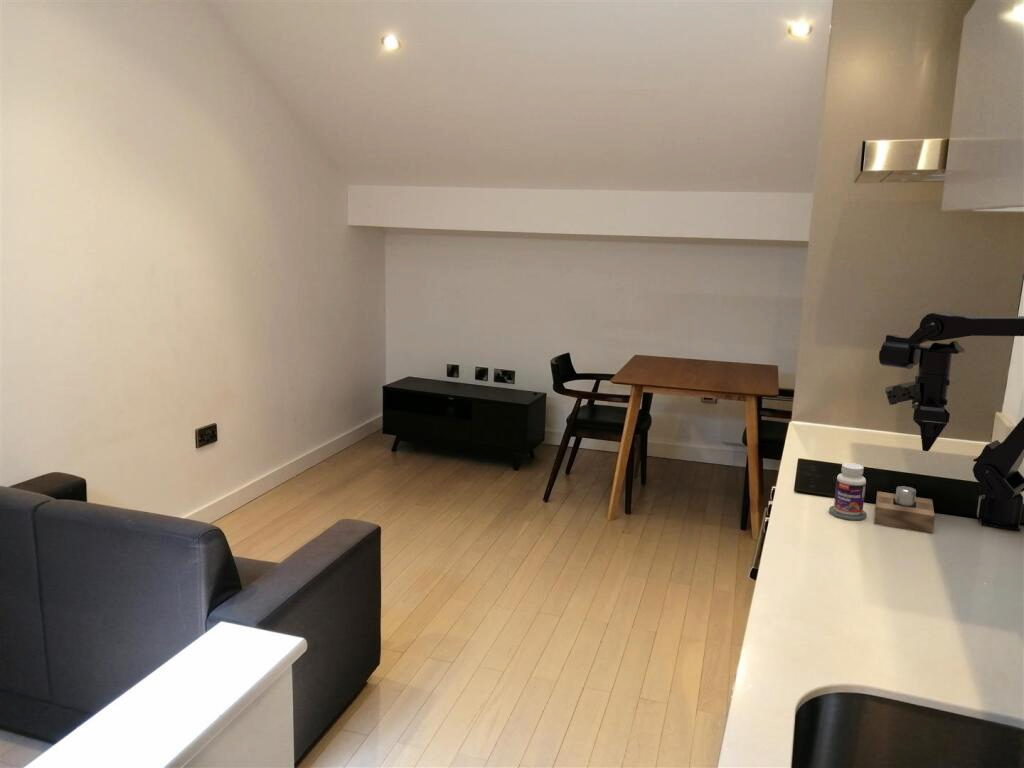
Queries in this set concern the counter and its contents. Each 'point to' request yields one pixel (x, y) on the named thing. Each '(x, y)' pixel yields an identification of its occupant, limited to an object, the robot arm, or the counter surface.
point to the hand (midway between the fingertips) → (924, 445)
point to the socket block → (904, 513)
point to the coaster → (847, 517)
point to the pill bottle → (850, 490)
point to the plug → (905, 496)
